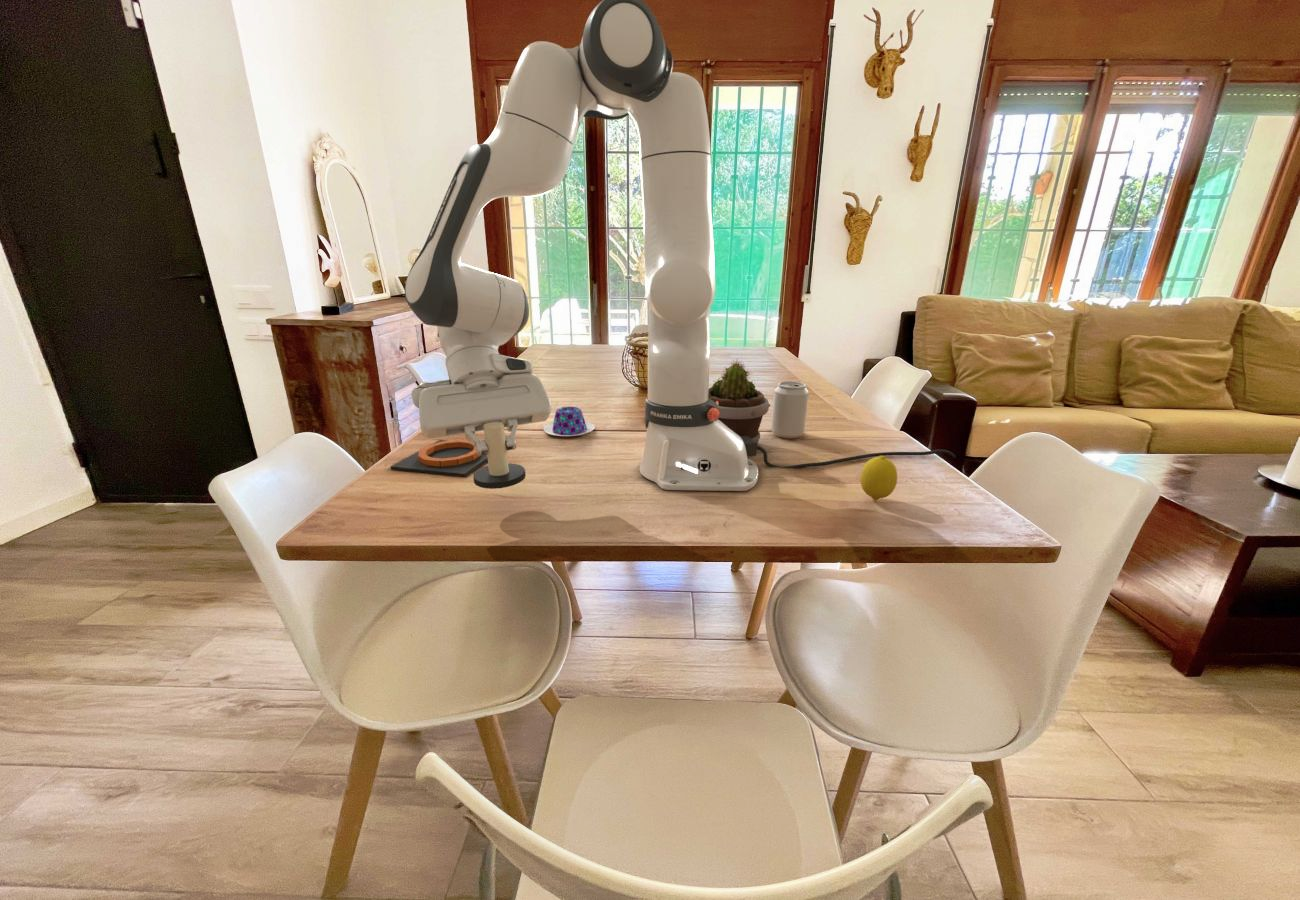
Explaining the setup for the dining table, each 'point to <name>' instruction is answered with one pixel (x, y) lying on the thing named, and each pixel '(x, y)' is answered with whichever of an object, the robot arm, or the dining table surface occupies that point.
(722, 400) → the flowerpot
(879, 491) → the lemon
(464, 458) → the base pad
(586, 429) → the pudding
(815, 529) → the dining table surface
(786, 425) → the can
